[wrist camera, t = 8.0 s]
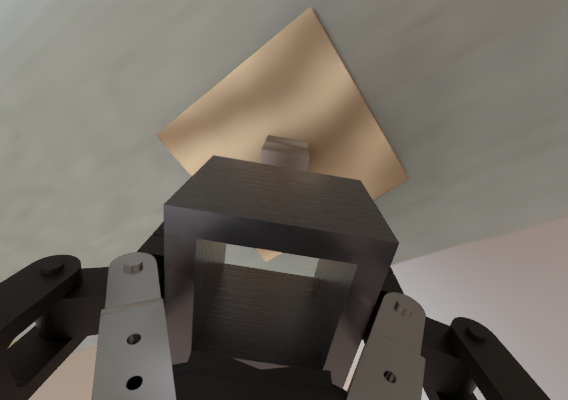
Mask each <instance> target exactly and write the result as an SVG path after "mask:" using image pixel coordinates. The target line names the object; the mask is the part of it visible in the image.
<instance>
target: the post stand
mask: <svg viewBox="0 0 568 400" xmlns="http://www.w3.org/2000/svg"><path fill="white" fill-rule="evenodd" d="M156 136H157V137H158V139H159V140H160V141H161V142H162V143H163V144H164V145H165V147H166V148H167V149H168V150H169V151H170V152H171V153H172V155H173V156H174V157H175V158H176V159H177V160H178V161H179V163H180V164H181V165H182V166H183V167H184V168H185V169H186V171H187V172H188V173H189V174H190V175H191V176H193V175H194V174H195V173H196V172H197V171H198V170H199V169H200V168H201V167H202V166H203V165H204V164H205V163H206V162H207V161H208V160H209V159H210V158H211V157H212V156H213V155H215V156H221V157H227V158H233V159H239V160H245V161H250V162H256V163H262V164H268V165H274V166H280V167H286V168H292V169H297V170H303V171H309V172H315V173H321V174H327V175H333V176H339V177H344V178H350V179H356V180H361V182H362V183H363V185H364V186H365V188H366V190H367V191H368V193H369V195H370V196H371V198H372V200H374V199H376V198H378V197H379V196H381V195H383V194H385V193H386V192H388V191H390V190H391V189H393V188H395V187H397V186H398V185H400V184H402V183H404V182H405V181H407V180H409V178H408V176H407V175H406V173H405V171H404V169H403V168H402V166H401V164H400V162H399V161H398V159H397V157H396V155H395V154H394V152H393V150H392V148H391V147H390V145H389V143H388V141H387V140H386V138H385V136H384V134H383V133H382V131H381V129H380V127H379V126H378V124H377V122H376V120H375V119H374V117H373V115H372V113H371V112H370V110H369V108H368V106H367V105H366V103H365V101H364V99H363V98H362V96H361V94H360V92H359V91H358V89H357V87H356V85H355V84H354V82H353V80H352V78H351V77H350V75H349V73H348V71H347V70H346V68H345V66H344V64H343V63H342V61H341V59H340V57H339V56H338V54H337V52H336V50H335V49H334V47H333V45H332V43H331V42H330V40H329V38H328V36H327V35H326V33H325V31H324V29H323V28H322V26H321V24H320V22H319V21H318V19H317V17H316V15H315V14H314V12H313V10H312V8H311V7H309V8H308V9H307V10H306V11H304V12H303V13H302V14H301V15H300V16H298V17H297V18H296V19H295V20H294V21H292V22H291V23H290V24H289V25H288V26H286V27H285V28H284V29H283V30H282V31H280V32H279V33H278V34H277V35H276V36H274V37H273V38H272V39H271V40H269V41H268V42H267V43H266V44H265V45H263V46H262V47H261V48H260V49H259V50H257V51H256V52H255V53H254V54H253V55H251V56H250V57H249V58H248V59H247V60H245V61H244V62H243V63H242V64H241V65H239V66H238V67H237V68H236V69H235V70H233V71H232V72H231V73H230V74H229V75H227V76H226V77H225V78H224V79H223V80H221V81H220V82H219V83H218V84H217V85H215V86H214V87H213V88H212V89H211V90H209V91H208V92H207V93H206V94H204V95H203V96H202V97H201V98H200V99H198V100H197V101H196V102H195V103H194V104H192V105H191V106H190V107H189V108H188V109H186V110H185V111H184V112H183V113H182V114H180V115H179V116H178V117H177V118H176V119H174V120H173V121H172V122H171V123H170V124H168V125H167V126H166V127H165V128H164V129H162V130H161V131H160V132H159V133H158V134H156ZM255 250H256V251H257V252H258V253H259V254H260V255H261V256H262V258H263V259H264V260H265V261H266V262H267V261H269V260H270V259H272V258H274V257H275V256H277V255H279V254H281V253H282V252H277V251H270V250H264V249H258V248H255Z"/></svg>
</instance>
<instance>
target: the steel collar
mask: <svg viewBox="0 0 568 400" xmlns="http://www.w3.org/2000/svg"><path fill="white" fill-rule="evenodd" d="M226 243H227V244H233V245H239V246H245V247H252V248H258V249H264V250H270V251H277V252H283V253H289V254H295V255H301V256H308V257H314V258H319V260H318V264H317V268H316V272H315V276H314V278H313V277H306V276H300V275H294V274H287V273H281V272H275V271H268V270H262V269H256V268H249V267H243V266H237V265H230V264H224V261H225V250H226ZM398 244H399V242H398V240H397V239H396V237H395V235H394V234H393V232H392V231H391V229H390V227H389V226H388V224H387V222H386V221H385V219H384V217H383V216H382V214H381V213H380V211H379V209H378V208H377V206H376V204H375V203H374V201H373V200H372V198H371V196H370V195H369V193H368V191H367V190H366V188H365V186H364V185H363V183H362V182H361V180H356V179H350V178H344V177H339V176H333V175H327V174H321V173H315V172H309V171H303V170H297V169H292V168H286V167H280V166H274V165H268V164H262V163H256V162H250V161H245V160H239V159H233V158H227V157H221V156H215V155H213V156H212V157H211V158H210V159H209V160H208V161H207V162H206V163H205V164H204V165H203V166H202V167H201V168H200V169H199V170H198V171H197V172H196V173H195V174H194V175H193V176H192V177H191V178H190V179H189V180H188V181H187V182H186V183H185V184H184V185H183V186H182V187H181V188H180V189H179V190H178V191H177V192H176V193H175V194H174V195H173V196H172V197H171V198H170V199H169V200H168V201H167V202H166V203H165V204H164V302H165V318H166V325H167V333H168V341H169V348H170V356H171V363H172V365H174V364H179V363H185V362H188V359H189V356H190V354H191V351H199V352H206V353H213V354H220V355H226V356H229V357H231V358H233V359H236V360H238V361H241V362H243V363H246V364H248V365H250V366H253V367H255V368H258V369H272V368H282V367H291V366H301V367H308V368H315V369H322V370H328V371H331V379H332V384H334V385H337V386H338V387H340V388H342V389H343V386H344V383H345V381H346V378H347V376H348V373H349V371H350V368H351V365H352V363H353V360H354V358H355V355H356V353H357V350H358V347H359V345H360V342H361V340H362V337H363V335H364V332H365V329H366V327H367V324H368V322H369V319H370V317H371V314H372V311H373V309H374V306H375V304H376V301H377V299H378V296H379V293H380V291H381V288H382V286H383V283H384V281H385V278H386V275H387V273H388V270H389V268H390V265H391V262H392V260H393V257H394V255H395V252H396V250H397V247H398Z"/></svg>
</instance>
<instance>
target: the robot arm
mask: <svg viewBox="0 0 568 400" xmlns="http://www.w3.org/2000/svg"><path fill="white" fill-rule="evenodd" d="M164 309H165V302H164V222H163V223H162V224H161V225H160V226H159V227H158V229H157V230H156V231H155V232H154V233H153V235H151V236H150V237H149V239H148V240H147V241H146V242H145V243H144V244H143V245H142V246H141V248H140V249H139V250H138V251H137V252H133V253H128V254H124V255H121V256H119V257H117V258H116V259H114V260H113V261H112V262H111V263H110V265H109V267H102V268H84V269H81V262H80V260H79V259H78V258H76V257H74V256H71V255H54V256H49V257H45V258H42V259H40V260H37V261H35V262H33V263H32V264H30V265H28V266H27V267H25V268H24V269H22V270H20V271H19V272H17V273H16V274H14V275H12V276H11V277H9V278H8V279H6V280H4V281H3V282H1V283H0V400H28V399H29V398H30V397H31V396H32V395H33V394H34V393H35V391H36V390H37V389H38V388H39V387H40V386H41V385H42V384H43V383H44V382H45V381H46V379H48V377H50V375H51V374H52V373H53V372H54V371H55V370H56V369H57V368H58V367H59V366H60V365H61V364H62V363H63V361H64V360H65V359H66V358H67V357H68V356H69V355H70V354H71V353H72V352H73V351H74V350H75V349H76V348H77V347H78V345H79V344H80V343H81V342H82V341H83V340H84V339H85V338H86V337H87V336H89V335H97V334H98V343H97V353H96V362H95V371H94V381H93V390H92V399H91V400H421V395H422V387H423V388H424V390H425V392H426V394H427V396H428V398H429V400H477V398H476V397H475V395H474V393H473V391H474V390H475V388H476V387H478V388H479V390H480V391H481V393H482V394H483V396H484V397H485V399H486V400H550V399H549V397H548V396H547V395H546V394H545V393H544V392H543V390H542V389H541V388H540V387H539V386H538V385H537V384H536V383H535V381H534V380H533V379H532V378H531V377H530V375H529V374H528V373H527V372H526V371H525V370H524V369H523V367H522V366H521V365H520V364H519V363H518V362H517V361H516V359H515V358H514V357H513V356H512V355H511V353H510V352H509V351H508V350H507V349H506V348H505V347H504V345H503V344H502V343H501V342H500V341H499V340H498V338H497V337H496V336H495V335H494V334H493V333H492V332H491V331H489V329H487V328H486V327H485V326H483V325H482V324H480V323H478V322H476V321H474V320H471V319H468V318H464V317H458V318H455V319H454V320H453V321H452V323H451V325H450V326H448V325H445V324H443V323H440V322H438V321H435V320H433V319H430V318H428V317H426V314H425V311H424V309H423V308H422V307H421V306H420V304H419V303H418V302H416V301H415V300H414V299H412V298H411V297H409V296H407V295H404V293H403V291H402V289H401V287H400V285H399V283H398V281H397V279H396V277H395V275H394V274H393V271H392V269H391V267H390V268H389V270H388V273H387V275H386V278H385V281H384V283H383V286H382V288H381V291H380V293H379V296H378V299H377V301H376V304H375V306H374V309H373V311H372V314H371V317H370V319H369V322H368V324H367V327H366V329H365V332H364V335H363V337H362V340H364V343H365V345H364V348H363V351H362V353H361V356H360V358H359V361H358V364H357V366H356V369H355V372H354V374H353V377H352V380H351V382H350V385H349V388H348V390H347V391H345V390H344V389H342V388H340V387H338V386H337V385H334V384H332V379H331V371H328V370H322V369H315V368H308V367H301V366H291V367H282V368H272V369H258V368H255V367H253V366H250V365H248V364H246V363H243V362H241V361H238V360H236V359H233V358H231V357H229V356H226V355H220V354H213V353H206V352H199V351H191V354H190V356H189V359H188V362H185V363H179V364H174V365H172V363H171V356H170V348H169V341H168V333H167V325H166V318H165V310H164ZM33 322H36V326H34V327H33V328H32V329H31V330H30V331H29V332H27V333H26V334H25V335H24V336H23V337H21V338H20V339H19V340H18V341H17V342H15V343H14V344H13V345H12V346H11V347H10V348H8V347H9V345H10V344H11V342H12V341H13V340H14V339H15V338H16V337H17V336H18V335H19V334H20V333H21V332H23V331H24V330H25V329H26V328H27V327H29V326H30V325H31V324H32V323H33Z"/></svg>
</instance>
